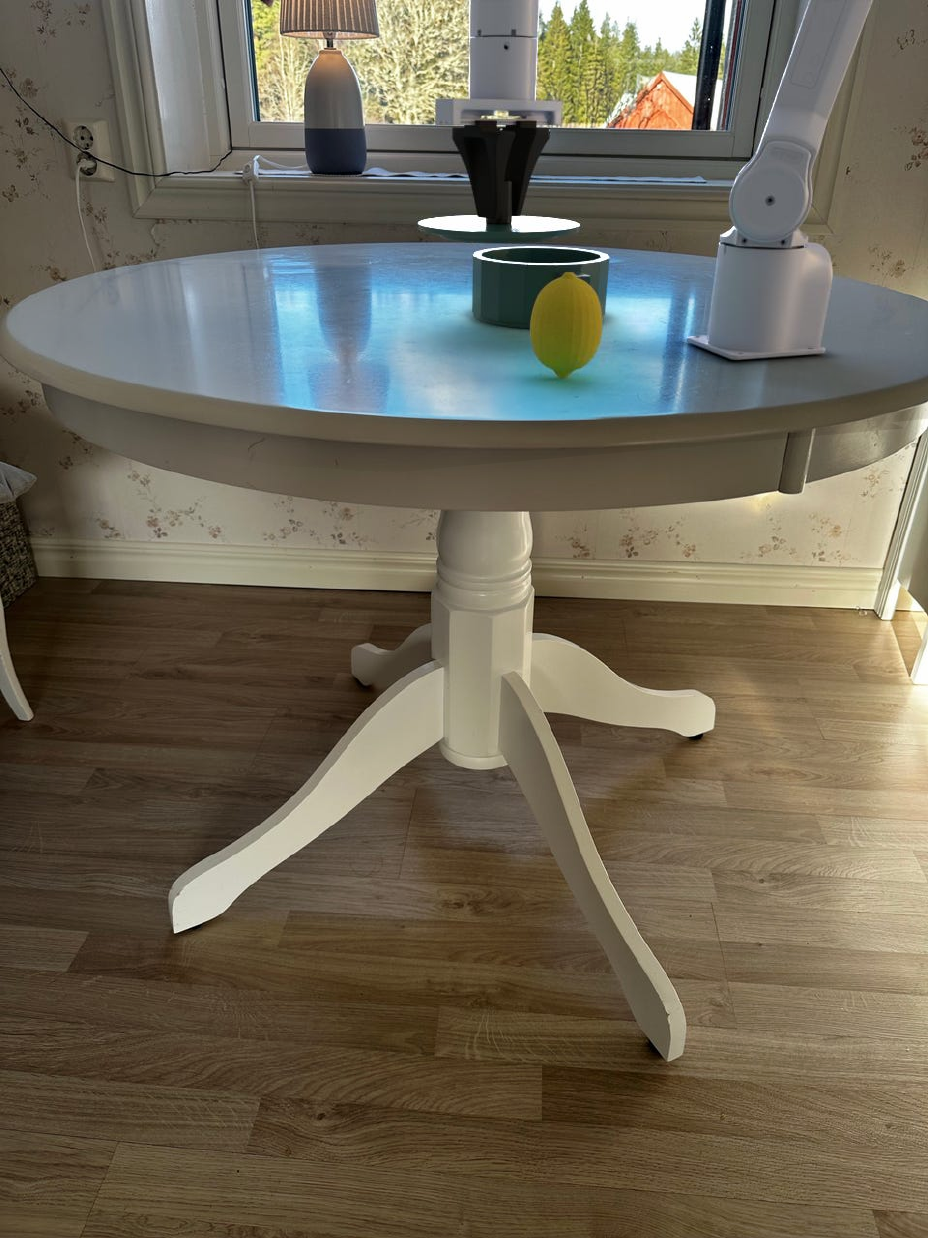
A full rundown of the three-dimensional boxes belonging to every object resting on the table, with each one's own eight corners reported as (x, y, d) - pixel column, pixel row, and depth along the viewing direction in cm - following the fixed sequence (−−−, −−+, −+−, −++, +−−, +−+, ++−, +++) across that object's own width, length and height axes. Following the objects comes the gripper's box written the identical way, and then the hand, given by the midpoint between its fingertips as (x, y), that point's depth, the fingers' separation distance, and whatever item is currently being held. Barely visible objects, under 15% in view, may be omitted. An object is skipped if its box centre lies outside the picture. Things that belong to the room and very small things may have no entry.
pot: (562, 297, 106) (565, 241, 103) (639, 329, 90) (645, 265, 87) (448, 302, 102) (448, 245, 99) (508, 337, 86) (510, 271, 83)
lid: (543, 225, 92) (545, 174, 90) (606, 243, 80) (610, 184, 78) (400, 229, 88) (399, 176, 86) (444, 248, 76) (444, 186, 74)
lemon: (542, 389, 70) (547, 278, 66) (518, 372, 75) (522, 267, 71) (609, 385, 71) (618, 276, 67) (582, 368, 76) (589, 265, 72)
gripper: (521, 45, 84) (516, 208, 90) (407, 35, 74) (410, 218, 81) (584, 42, 79) (574, 213, 86) (472, 31, 70) (470, 225, 77)
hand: (499, 216), depth 83 cm, fingers closed on lid, 2 cm apart
